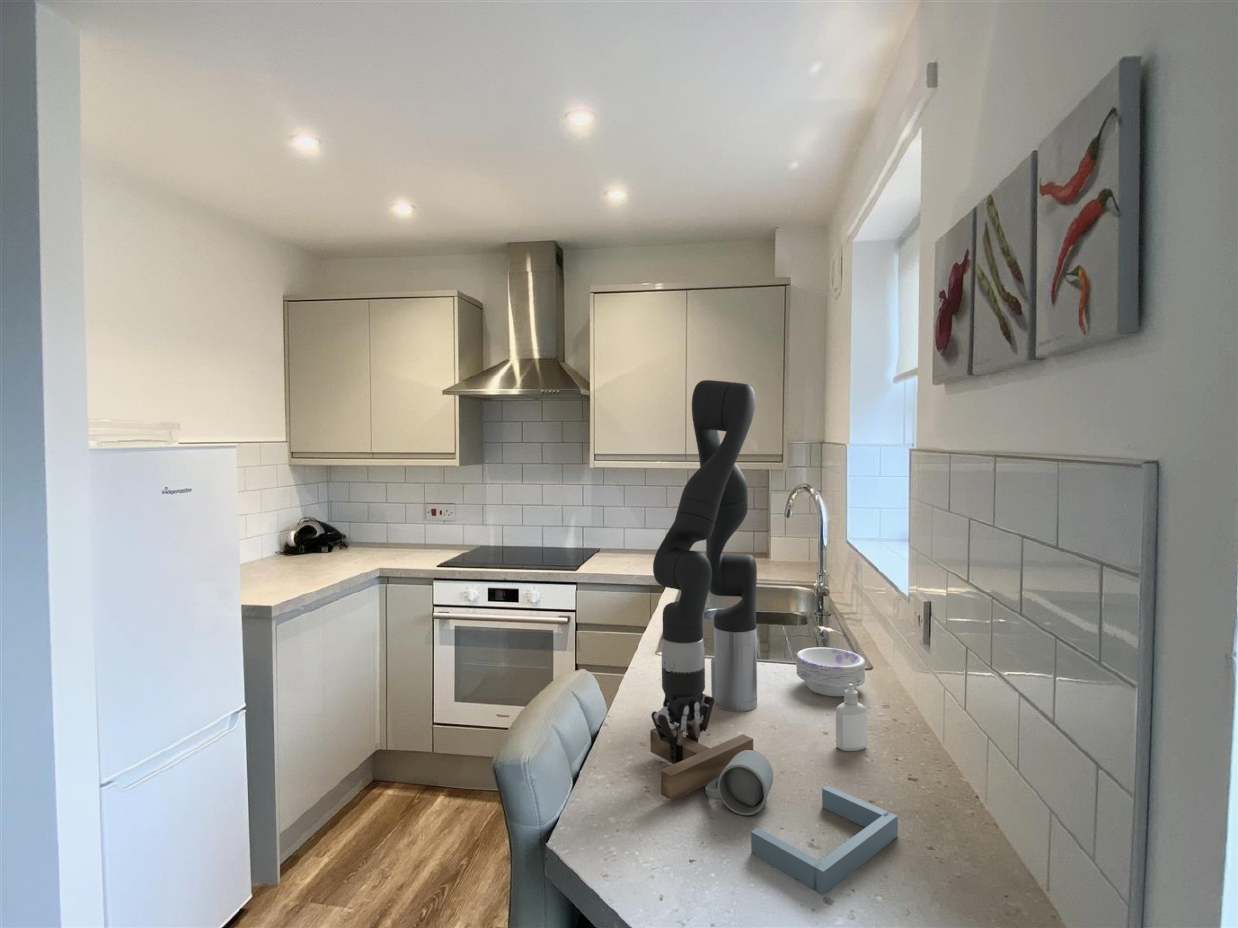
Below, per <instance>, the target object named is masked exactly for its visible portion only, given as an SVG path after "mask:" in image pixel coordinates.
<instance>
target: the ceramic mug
mask: <svg viewBox="0 0 1238 928" xmlns="http://www.w3.org/2000/svg"><path fill="white" fill-rule="evenodd" d="M773 783H774V770H773V767H772V765H771V762H770V761H769V760H768V758H767V757H766V756H765V755H764V754H762V753H761V752H759V751H756V750H754V749H753V750H745V751H742V752H740V753H738V754H737V755H735V756H734V757H733V758H732V760H731V761H730V763H729V764H728V765H727V766H726V767H725V769H724V770H723V771H722V773H721V774H720V777H717V778H716V779H714V780H712V781H711V782H709V783H707V784H705V788H704V791H705V793H706V796H707V798H708V799H709V800H720V799H721V801H722V803H723V804H724V806H726V807H727V808H728V809H729V810H730V811H732V812H733V813H736V814H738V815H741V816H753V815H755V814H757V813H758V812H760V811H761V810H762V808H763V807H764V806H765V804H766V801H767V799H768V796H769V795H770V791H771V789H772V786H773Z"/></svg>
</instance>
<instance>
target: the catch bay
mask: <svg viewBox="0 0 1238 928" xmlns="http://www.w3.org/2000/svg"><path fill="white" fill-rule="evenodd" d="M821 792H822V793H821V796H822V797H821V799H822V802H821V803H822V808H823V809H826V810H827V811H830V812H832V813H834V814H836V815H838V816H840V817H842V818H844V819H846V820H849V821H851V822H852V823H855V824H858V826H862V827H864V828H862V830H861V831H859V832H858V833H856V834H854V836H852V837H851V838H850V839H848V840H847V841H845V842H844V843H843V844H841V845H840V846H838V847H837V848H836V849H835V850H833V851H831V853H829V854H828V855H826V856H824V857H823V858H822V859H820V860H819V859H817V858H814V857H813V856H811V855H810V854H807V853H806V852H804V851H801V850H800V849H798V848H796V847H794V846H793V845H791V844H789V843H788V842H786V841H783V840H781V839H780V838H778V837H776V836H774V835H772V834H770V833H769V832H767V831H764V829H761V828H759V827H756V828H755V829H754V830H751V832H750V837H751V838H750V840H751V843H750V844H751V848H750V849H751V854H752V855H754V856H756V857H758V858H760V859H762V860H763V861H765V862H766V863H768V864H770V865H772V866H773V867H775V868H777V869H778V870H780V871H781V872H784V873H785V874H786V875H789V876H790V877H791V878H794V879H795V880H797V881H799V882H800V883H802V884H804V885H806V886H807V887H809V888H811V889H812V890H814V891H816V892H818V893H819V894H821V895H823V896H824V895H826V894H827V893H828V892H829V891H831V890H832V889H833V888H834V887H835V886H837V885H838V884H840V883H841V882H842V881H843V880H844V879H846V878H847V877H848V876H850V875H851V874H852V873H854V871H856V870H857V869H858V868H859V867H861V866H862V865H863V864H865V863H866V862H867V861H868V860H870V859H871V858H872V857H873V856H874V855H876V854H877V853H879V851H881V850H882V849H884V847H886V846H887V845H888V844H890V843H891V842H893V841H894V840H895V839H896V838H897V837H898V836H899V835H898V833H899V832H898V831H899V828H898V827H899V823H898V815H897V814H894V813H892V812H890V811H888V810H885V809H883V808H881V807H878V806H876V805H874V804H872V803H869V802H866V801H865V800H863V799H859V798H857V797H855V796H853V795H851V794H848V793H846V792H844V791H842V790H839V789H837V788H836V787H833V786H830V785H828V784H827V785H826V786H824V787H822V788H821Z"/></svg>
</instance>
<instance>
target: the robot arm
mask: <svg viewBox="0 0 1238 928" xmlns="http://www.w3.org/2000/svg"><path fill="white" fill-rule="evenodd" d="M691 397H692V398H691V417H692V423H693V424H692V425H693V430H694V435H695V441H696V445H697V451H698V458H699V468H698V469H697V470H696V471H695V473H694V474H692V476H691V477H690V478H689V479H688V481H687V482H686V484H685V486H684V488H683V490H682V492H681V497H680V500H679V503H678V508H677V511H676V514H675V519H674V520H673V523H672V525H671V526H670V528H669V529H668V531H667V533H666V535H665V537H664V538H663V540H662V541H661V544H660V545H659V547H658V548H657V551H656V553H655V555H654V559H653V565H652V572H653V577H654V579H655V581H656V582H657V583H658V584H659V585H660V586H662V587H665V588H668V589H673V590H677V591H680V596H679V600H678V601H673V602H670V603H667V604H665V606H664V607H663V609H662V610H663V611H662V645H661V687H662V692H663V693H664V700H663V704H662V708H661V709H660V710H658V711H655V710H654V711H653V712H651V716H650V717H651V720H652V722H653V724H654V728H656V730H657V732H658V735H659V737H660V740H662V741H664V742H666V743H668V744H670V759H671V761H672V762H673V763H674V764H676V763H678V762H680V761H682V760H683V744H682V738H683V736H684V732H685V733H686V735H685V737H687V738H689V739H691V740H693V741H696V742H698V743H699V738H700V736H701V733H702V732H707V729H708V727H709V723H710V719H711V716H712V711H713V708H714V704H715V706H716V707H718V708H720V709H722V710H725V711H729V712H748V711H751V710H754V709H755V708H757V706H758V660H757V659H758V658H757V657H758V656H757V655H758V652H757V650H758V649H757V648H758V647H757V646H758V645H757V644H758V643H757V608H756V606H757V605H756V604H757V601H756V600H757V583H758V582H757V578H758V567H757V562H756V559H755V557H754V556H753V555H752V554H747V553H746V554H744V553H723V550H724V548H725V547H726V545H727V543H728V541H729V540H730V538H731V537H732V536H733V535H734V533H735V532H736V531H737V530H738V528H739V527H741V524H742V523H743V522H744V520H745V518H746V517H747V514H748V510H749V499H748V498H749V497H748V496H749V495H748V484H747V480H746V477H745V475H744V474H743V472H742V471H741V469H740V468H739V466H738V465H737V463H736V462H737V460H738V458H739V455H740V452H741V450H742V448H743V445H744V443H745V440H746V439H747V435H748V433H749V430H750V427H751V426H752V425H751V424H752V422H753V418H754V414H755V410H756V409H755V408H756V394H755V390H754V389H753V387H752V386H751V385H750V384H748V383H744V382H743V383H742V382H734V381H724V380H723V381H722V380H711V379H709V380H708V379H704V380H701V381H699V382H697V384H696V385H695V386H694V389H693V393H692V396H691ZM720 431H721V432H725V434H724V437H723V439H721V435H720ZM701 541H705V545H706V547H705V549H706V551H705V554H704V553H703V552H701V551H697V550H691V549H692V547H693V545H694V544H696V543H697V542H701ZM709 592H710V594H712V595H714V596H718V597H737V598H738V597H739V598H741V600H740V601H739V602H737V603H736V604H734V605H732V606H729V607H727V608H723V609H720V610H718V611H717V612H715V614H714V616H713V634H714V635H713V639H714V640H713V641H714V642H713V643H714V645H713V646H714V651H713V653H714V655H713V656H714V657H713V658H712V659H710V674H711V675H710V677H711V680H710V681H711V686H710V687H711V696H710V695H707V694H705V693H704V692H705V690H706V682H705V681H706V668H705V667H706V661H705V659H706V658H705V657H706V656H705V655H706V654H705V653H706V651H705V644H704V623H703V622H704V618H703V617H704V612H705V609H706V605H707V600H708V595H709ZM702 716H703V718H702ZM701 720H702V721H701ZM675 732H676V736H675Z"/></svg>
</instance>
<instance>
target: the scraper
mask: <svg viewBox="0 0 1238 928" xmlns="http://www.w3.org/2000/svg"><path fill="white" fill-rule="evenodd" d="M649 730H650V733H649V734H650V743H649V744H650V746H649V747H650V753H652V754H653V755H656V756H658V757H659V758H661V759H664V760H666V761H667V762H669V763H671V764H670V765H669V766H666V767H664V768H663V769H660V796H662V797H664V798H666V799H668V800H669V801H671V802H672V801H674V800H675V799H678V798H681V797H682V796H684V795H686V794H689V793H690V792H693V791H695V790H696V789H699V788H701V787H703V786H706V785H707V784H708V783H709V782H711V781H712V780H714V779H716V778H717V777H720V774H721V773H722V771H723V770H724V769H725V767H726V766H727V765H728V764H729V763H730V761H731V760H732V758H733V757H734V756H735V755H737V754H738V753H740V752H742V751H745V750H753V751H754V738H752V737H750V736H749V735H745V734H743V733H742V734H739V735H738V736H735V737H733V738H731V739H729V740H726V741H724V742H722V743H720V744H716V745H715V746H712V747H708V746H707V745H704V744H702V743H700V742H699V741H698V742H696V741H693V740H691V739H689V738H687V737H686V735H683V738H682V744H683V760H682V761H680V762H678V763H676V764H674V763H673V762H672V761H671V759H670V744H668V743H666V742H664V741H662V740H660V737H659V735H658V732H657V730H656V727H654V728H652V729H649ZM675 736H676V731H675Z"/></svg>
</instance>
